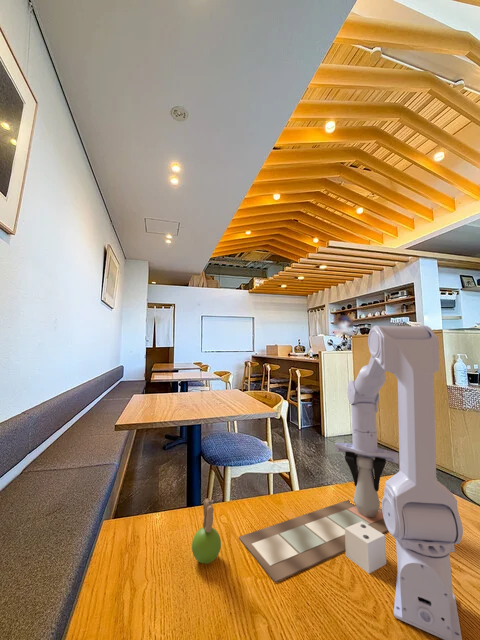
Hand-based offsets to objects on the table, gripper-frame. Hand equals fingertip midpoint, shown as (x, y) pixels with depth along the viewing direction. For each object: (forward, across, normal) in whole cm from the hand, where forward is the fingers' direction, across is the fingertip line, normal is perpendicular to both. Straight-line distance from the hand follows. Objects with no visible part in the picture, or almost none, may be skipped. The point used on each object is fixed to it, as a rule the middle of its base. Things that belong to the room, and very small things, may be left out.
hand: (366, 487), depth 68 cm
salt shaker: (+6, 0, 0) cm, 6 cm away
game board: (+6, +7, +12) cm, 15 cm away
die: (+6, -2, +17) cm, 18 cm away
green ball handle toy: (+6, +23, +34) cm, 42 cm away
